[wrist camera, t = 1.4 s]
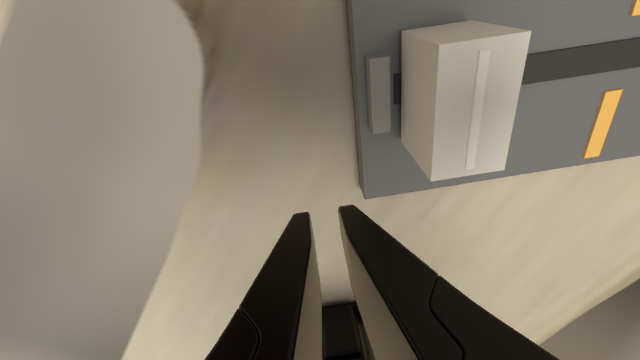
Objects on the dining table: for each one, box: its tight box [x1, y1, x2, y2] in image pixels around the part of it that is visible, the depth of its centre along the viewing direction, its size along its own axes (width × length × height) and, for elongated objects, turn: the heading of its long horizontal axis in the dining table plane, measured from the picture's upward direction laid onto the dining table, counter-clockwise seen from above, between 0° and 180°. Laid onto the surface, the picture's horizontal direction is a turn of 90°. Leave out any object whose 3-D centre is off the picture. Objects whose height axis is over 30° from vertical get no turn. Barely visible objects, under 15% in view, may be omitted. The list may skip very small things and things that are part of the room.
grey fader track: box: [347, 0, 640, 199], centre depth 18 cm, size 14×24×2 cm, turn 97°
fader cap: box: [401, 20, 531, 182], centre depth 16 cm, size 6×4×5 cm, turn 7°
